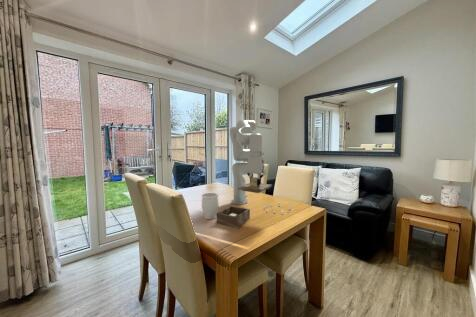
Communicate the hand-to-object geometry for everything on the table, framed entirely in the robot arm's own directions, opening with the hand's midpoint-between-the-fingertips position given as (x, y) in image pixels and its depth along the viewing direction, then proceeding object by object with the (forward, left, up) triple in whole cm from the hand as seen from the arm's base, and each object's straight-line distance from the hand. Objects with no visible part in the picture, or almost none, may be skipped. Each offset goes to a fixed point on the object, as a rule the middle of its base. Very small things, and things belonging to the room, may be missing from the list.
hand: (255, 184), depth 128 cm
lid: (0, 0, -2) cm, 2 cm away
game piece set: (-28, +4, -24) cm, 37 cm away
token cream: (+4, -13, -22) cm, 26 cm away
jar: (+8, -28, -23) cm, 38 cm away
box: (+7, -11, -23) cm, 27 cm away
